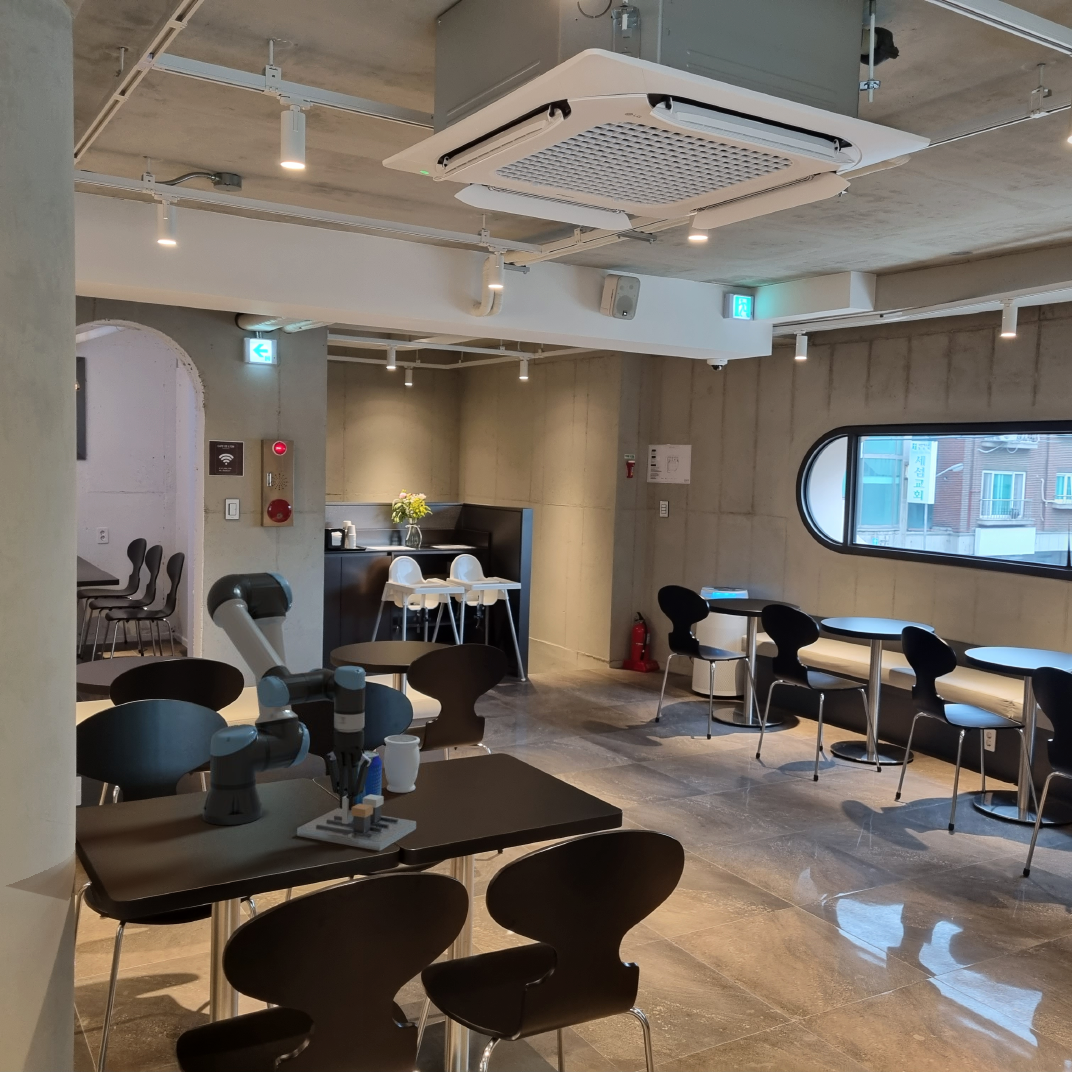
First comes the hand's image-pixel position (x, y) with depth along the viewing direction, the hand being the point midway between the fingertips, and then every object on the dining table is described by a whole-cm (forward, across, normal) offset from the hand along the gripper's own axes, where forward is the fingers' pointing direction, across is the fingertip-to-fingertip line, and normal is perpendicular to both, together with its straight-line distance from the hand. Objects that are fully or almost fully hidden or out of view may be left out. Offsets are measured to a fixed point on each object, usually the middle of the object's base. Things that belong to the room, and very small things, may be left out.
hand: (347, 821), depth 253 cm
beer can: (+4, -7, +19) cm, 21 cm away
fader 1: (+2, +4, 0) cm, 4 cm away
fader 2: (+2, +2, +8) cm, 9 cm away
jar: (+4, -9, +42) cm, 43 cm away
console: (+4, 0, +4) cm, 6 cm away
